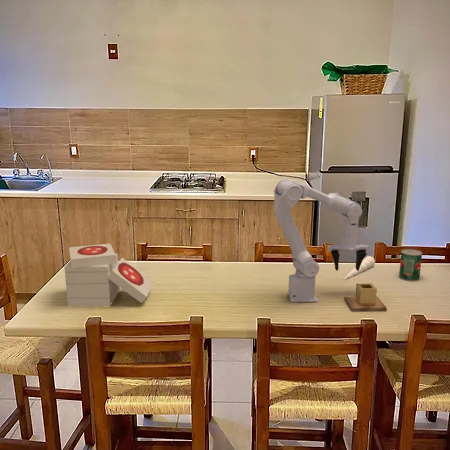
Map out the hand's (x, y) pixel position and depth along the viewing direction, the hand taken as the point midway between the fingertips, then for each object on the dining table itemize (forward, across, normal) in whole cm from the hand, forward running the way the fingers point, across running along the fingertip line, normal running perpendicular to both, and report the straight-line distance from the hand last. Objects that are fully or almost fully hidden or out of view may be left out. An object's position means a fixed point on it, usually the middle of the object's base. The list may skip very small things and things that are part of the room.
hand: (346, 269), depth 179 cm
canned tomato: (+10, +30, +16) cm, 35 cm away
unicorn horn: (+10, +12, +23) cm, 28 cm away
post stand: (+9, +4, -11) cm, 15 cm away
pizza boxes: (+10, -87, -3) cm, 88 cm away
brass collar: (+8, +4, -11) cm, 14 cm away
